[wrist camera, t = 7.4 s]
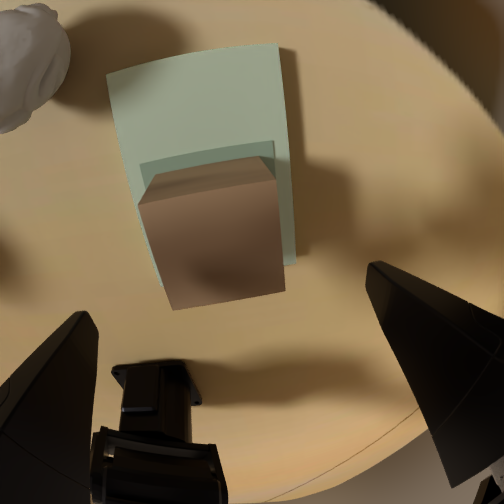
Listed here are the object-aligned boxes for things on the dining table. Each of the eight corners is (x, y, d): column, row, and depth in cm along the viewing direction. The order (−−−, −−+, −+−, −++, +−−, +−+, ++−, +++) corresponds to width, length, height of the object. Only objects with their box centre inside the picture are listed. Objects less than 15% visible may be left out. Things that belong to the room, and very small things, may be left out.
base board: (292, 254, 18) (296, 264, 17) (162, 276, 18) (160, 287, 17) (273, 46, 12) (278, 42, 11) (112, 75, 11) (105, 74, 10)
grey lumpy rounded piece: (-7, 52, 8) (-88, 58, 2) (92, -5, 9) (26, -46, 3) (8, 140, 12) (-72, 180, 6) (108, 93, 12) (36, 102, 6)
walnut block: (268, 245, 16) (285, 290, 13) (178, 261, 16) (172, 310, 13) (258, 155, 14) (276, 179, 10) (155, 174, 13) (137, 205, 10)
